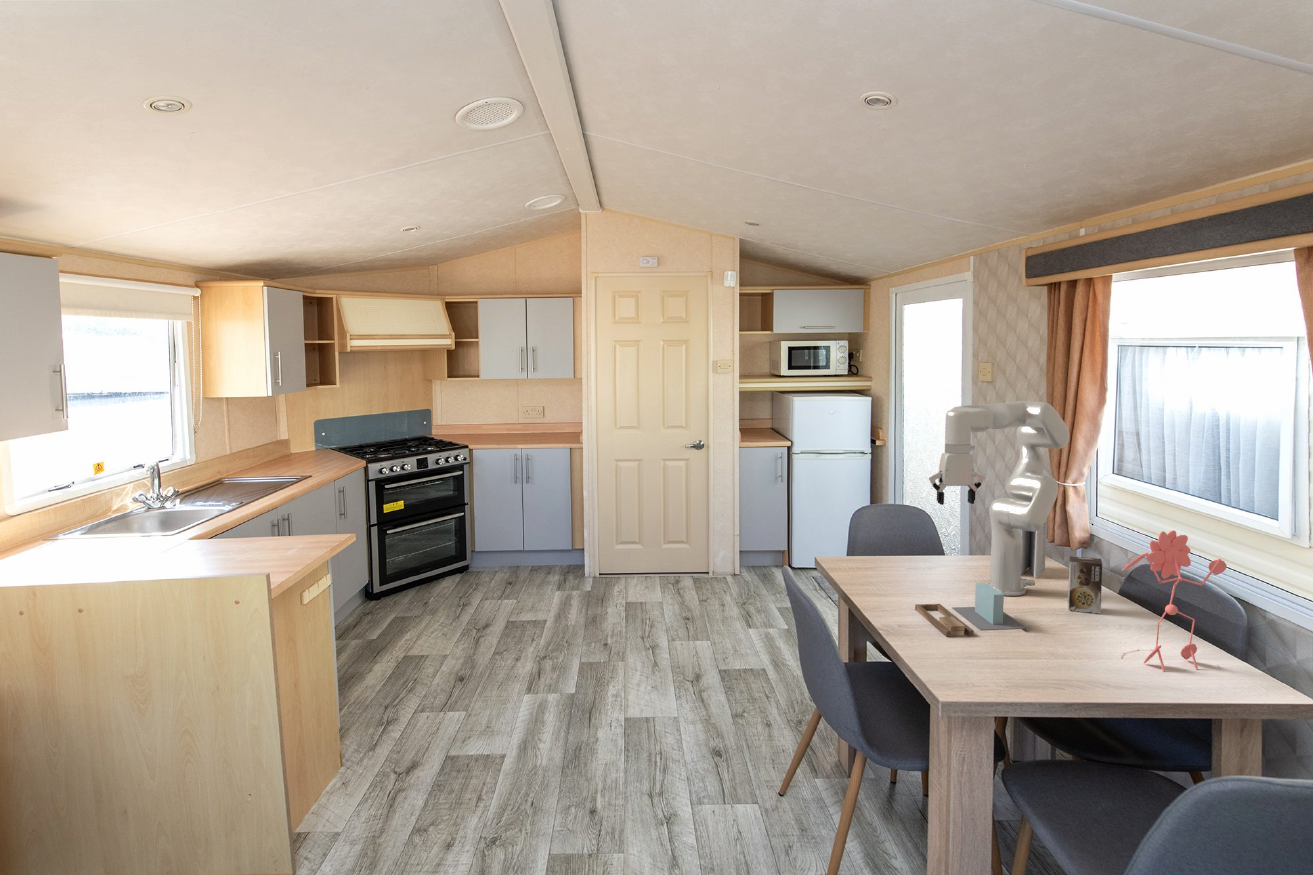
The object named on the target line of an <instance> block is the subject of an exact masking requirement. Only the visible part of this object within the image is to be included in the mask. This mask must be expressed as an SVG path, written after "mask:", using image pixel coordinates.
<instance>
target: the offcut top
mask: <svg viewBox="0 0 1313 875" xmlns="http://www.w3.org/2000/svg"><path fill="white" fill-rule="evenodd" d="M938 621H939V622H940V623H942V624H943V625H944V626H945V627H946V628H948V629H949V630H950V631H951V632H953V631H965V626H964V625H963V624H962V623H960V622H959V621H957V620H956V619H955V618H953V617H945V616H938Z"/></svg>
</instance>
